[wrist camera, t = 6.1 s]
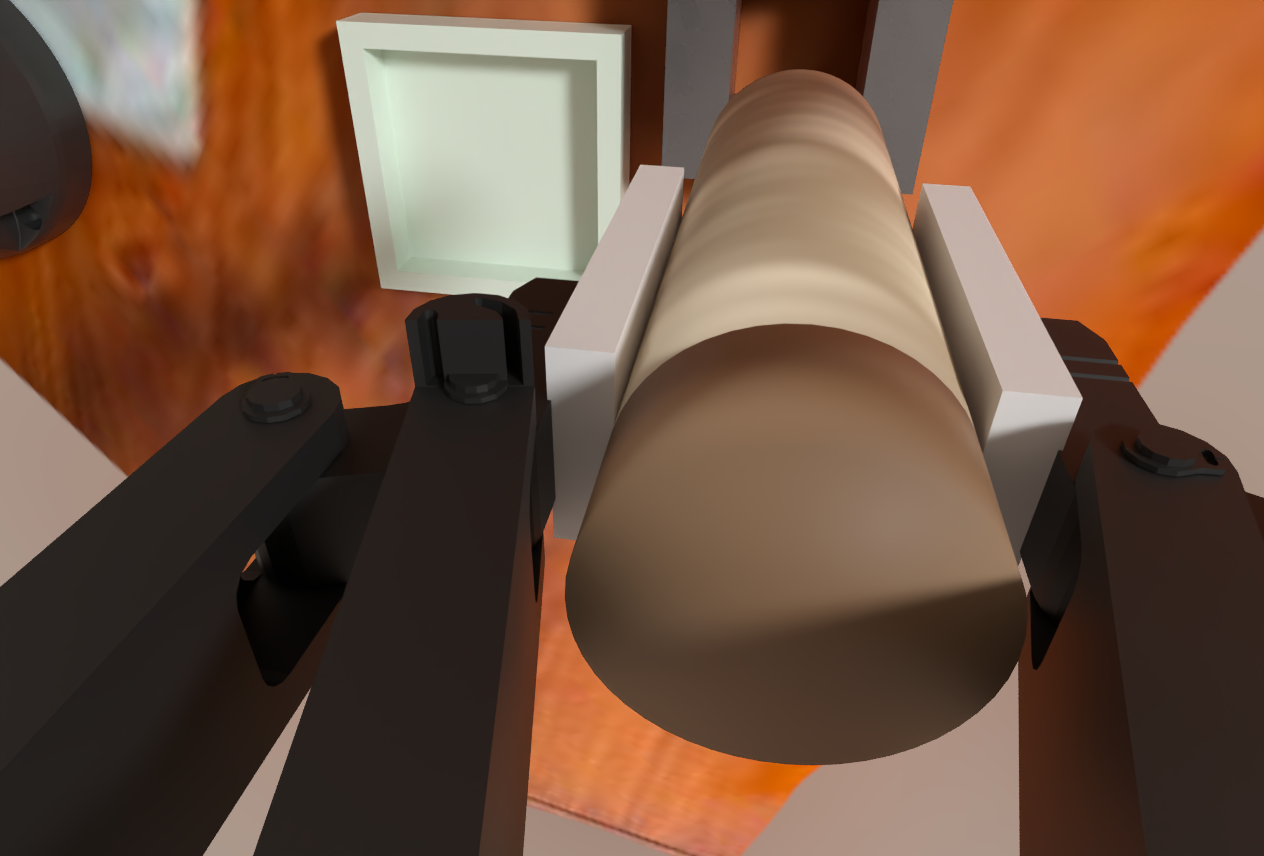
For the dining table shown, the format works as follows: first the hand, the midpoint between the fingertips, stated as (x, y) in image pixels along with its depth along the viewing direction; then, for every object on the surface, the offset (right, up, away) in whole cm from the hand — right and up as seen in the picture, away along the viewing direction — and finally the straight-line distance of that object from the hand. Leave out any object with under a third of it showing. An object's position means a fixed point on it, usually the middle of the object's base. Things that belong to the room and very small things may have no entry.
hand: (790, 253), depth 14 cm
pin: (+1, +3, +4) cm, 5 cm away
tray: (-9, +10, +24) cm, 28 cm away
